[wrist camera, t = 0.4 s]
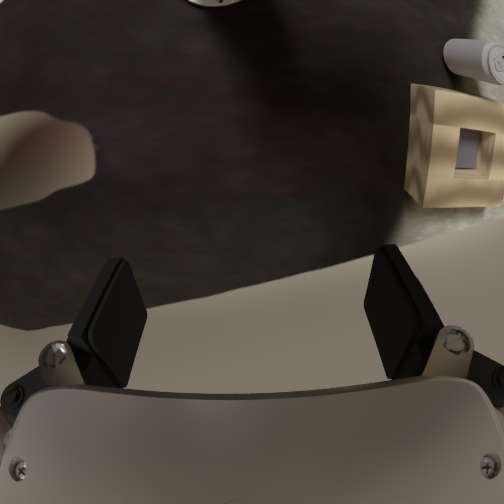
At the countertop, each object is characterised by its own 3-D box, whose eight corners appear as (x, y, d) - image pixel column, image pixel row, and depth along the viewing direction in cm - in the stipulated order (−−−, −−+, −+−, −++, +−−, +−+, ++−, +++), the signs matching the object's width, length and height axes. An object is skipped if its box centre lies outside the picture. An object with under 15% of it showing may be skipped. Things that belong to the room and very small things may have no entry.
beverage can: (473, 72, 33) (521, 84, 23) (446, 77, 35) (493, 90, 25) (463, 36, 30) (511, 40, 20) (435, 41, 32) (482, 43, 22)
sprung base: (443, 121, 37) (447, 122, 36) (476, 126, 37) (480, 127, 36) (439, 164, 41) (442, 166, 41) (471, 166, 41) (474, 168, 40)
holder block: (410, 83, 36) (434, 89, 30) (491, 98, 35) (517, 108, 29) (403, 188, 47) (422, 208, 41) (479, 189, 46) (500, 206, 40)
